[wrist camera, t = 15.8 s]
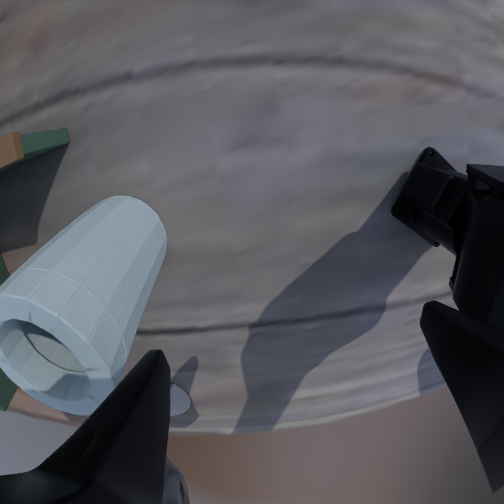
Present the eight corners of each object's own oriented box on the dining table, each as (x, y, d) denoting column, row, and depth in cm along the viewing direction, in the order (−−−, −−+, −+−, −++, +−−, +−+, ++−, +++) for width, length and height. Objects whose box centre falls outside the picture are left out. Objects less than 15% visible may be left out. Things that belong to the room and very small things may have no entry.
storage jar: (181, 219, 21) (131, 350, 9) (149, 292, 23) (103, 431, 11) (98, 180, 19) (-25, 264, 7) (76, 257, 21) (-11, 371, 9)
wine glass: (111, 390, 28) (81, 507, 14) (155, 365, 26) (130, 508, 13) (162, 423, 31) (152, 531, 17) (209, 403, 29) (210, 529, 16)
